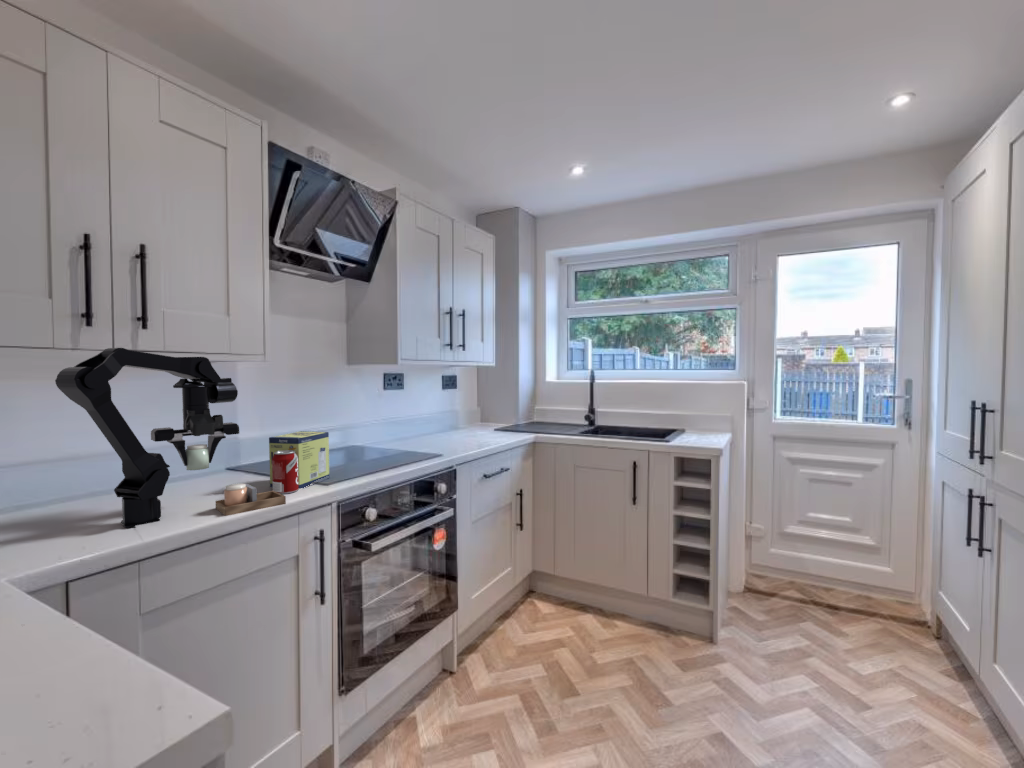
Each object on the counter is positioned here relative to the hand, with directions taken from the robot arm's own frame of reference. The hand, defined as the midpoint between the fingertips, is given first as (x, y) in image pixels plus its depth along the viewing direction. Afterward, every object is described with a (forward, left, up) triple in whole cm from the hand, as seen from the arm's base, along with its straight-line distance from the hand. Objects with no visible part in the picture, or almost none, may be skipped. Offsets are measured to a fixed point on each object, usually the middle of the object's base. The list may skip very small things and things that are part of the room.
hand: (197, 464), depth 126 cm
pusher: (+9, -12, -11) cm, 19 cm away
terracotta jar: (+5, -12, -11) cm, 17 cm away
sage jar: (0, 0, -1) cm, 1 cm away
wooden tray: (+9, -12, -11) cm, 19 cm away
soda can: (+21, -3, -11) cm, 24 cm away
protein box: (+29, +6, -11) cm, 32 cm away
